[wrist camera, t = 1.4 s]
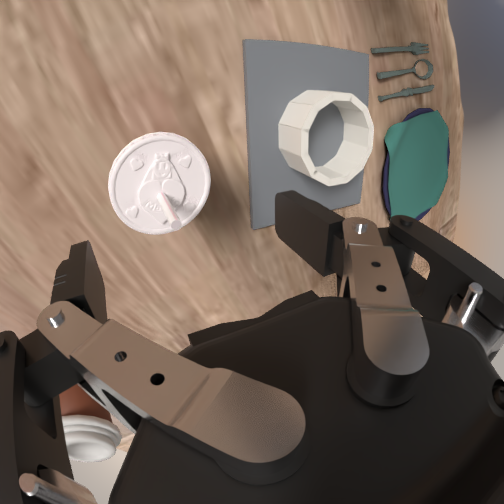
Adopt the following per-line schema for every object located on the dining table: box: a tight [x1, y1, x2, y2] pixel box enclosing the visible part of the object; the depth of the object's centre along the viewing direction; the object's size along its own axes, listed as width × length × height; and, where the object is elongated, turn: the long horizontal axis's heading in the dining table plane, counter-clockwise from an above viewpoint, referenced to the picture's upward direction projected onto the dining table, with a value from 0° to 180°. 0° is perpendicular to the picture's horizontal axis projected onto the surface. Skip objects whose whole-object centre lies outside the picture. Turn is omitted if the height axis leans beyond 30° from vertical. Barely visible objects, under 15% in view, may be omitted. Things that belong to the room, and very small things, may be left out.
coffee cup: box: [59, 384, 122, 462], centre depth 27 cm, size 9×9×12 cm
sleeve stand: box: [243, 39, 374, 230], centre depth 28 cm, size 20×16×5 cm
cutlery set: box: [371, 42, 450, 221], centre depth 37 cm, size 20×30×2 cm, turn 16°
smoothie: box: [108, 132, 211, 234], centre depth 19 cm, size 6×6×14 cm
